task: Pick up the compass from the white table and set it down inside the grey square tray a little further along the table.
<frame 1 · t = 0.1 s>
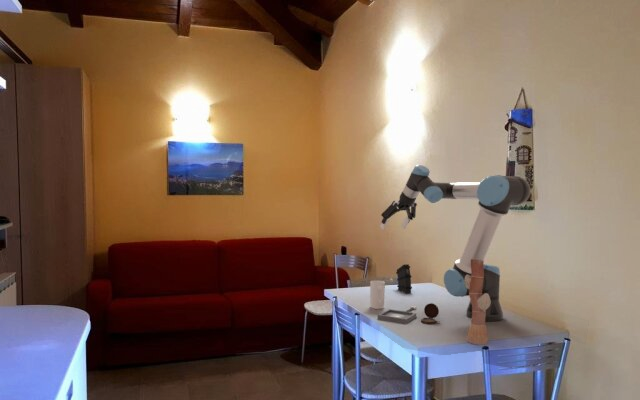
hand: (392, 227, 245), 36 cm above the table, tool tilted 35°, fingers open, 13 cm apart
vase: (475, 341, 176), on the table
black lumpy slab: (403, 291, 265), on the table
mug: (378, 308, 224), on the table
grey square tray: (397, 318, 206), on the table
compass: (431, 322, 201), on the table
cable: (408, 312, 217), on the table
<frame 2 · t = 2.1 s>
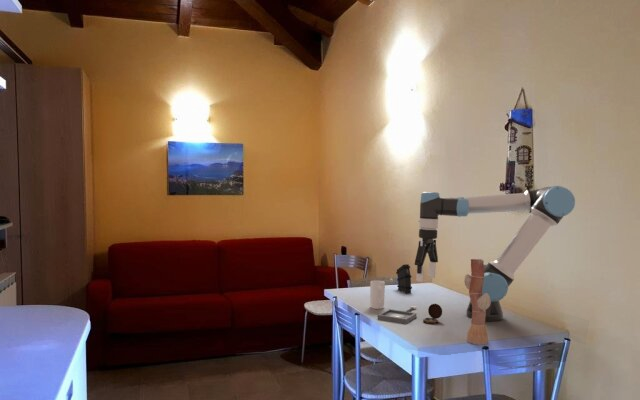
hand: (425, 279, 203), 17 cm above the table, tool pointing down, fingers open, 13 cm apart
compass: (433, 323, 200), on the table
everything else where it was.
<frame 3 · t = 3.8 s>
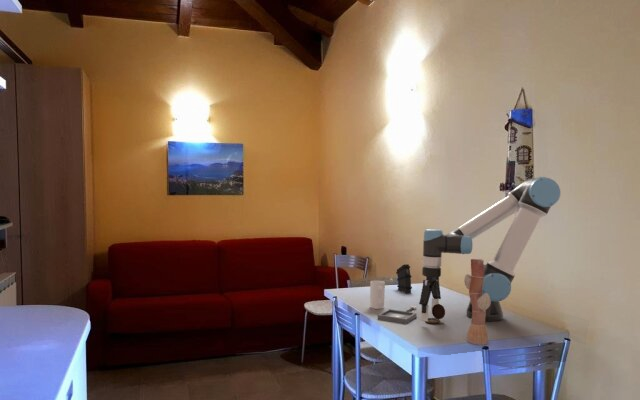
hand: (429, 317, 201), 2 cm above the table, tool pointing down, fingers open, 13 cm apart
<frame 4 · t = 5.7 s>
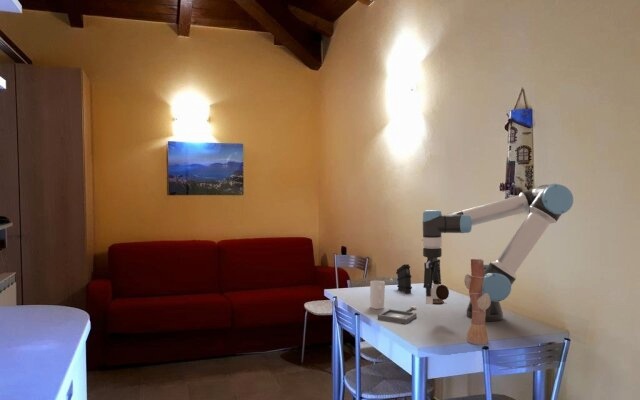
hand: (432, 301, 201), 8 cm above the table, tool pointing down, fingers closed on compass, 8 cm apart
compass: (439, 304, 198), point 8 cm above the table, touching gripper
everything else where it was.
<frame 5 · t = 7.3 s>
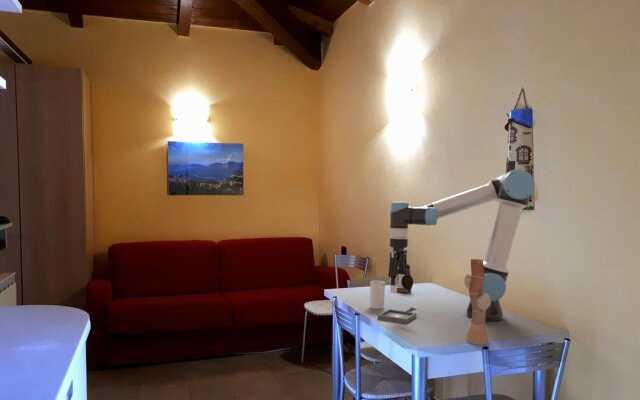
hand: (397, 291, 206), 12 cm above the table, tool pointing down, fingers closed on compass, 8 cm apart
compass: (403, 293, 204), point 11 cm above the table, touching gripper
everything else where it was.
when the fingers open (2 cm above the table, at t = 9.4 s): compass stays where it is, resting on grey square tray.
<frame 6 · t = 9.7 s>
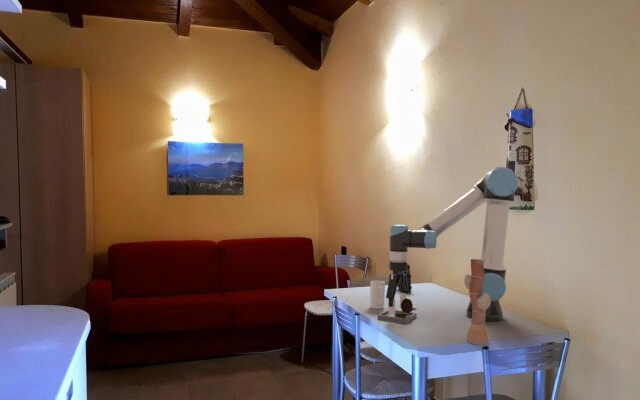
hand: (397, 311, 206), 3 cm above the table, tool pointing down, fingers open, 12 cm apart
compass: (403, 316, 204), point 1 cm above the table, touching grey square tray
everything else where it was.
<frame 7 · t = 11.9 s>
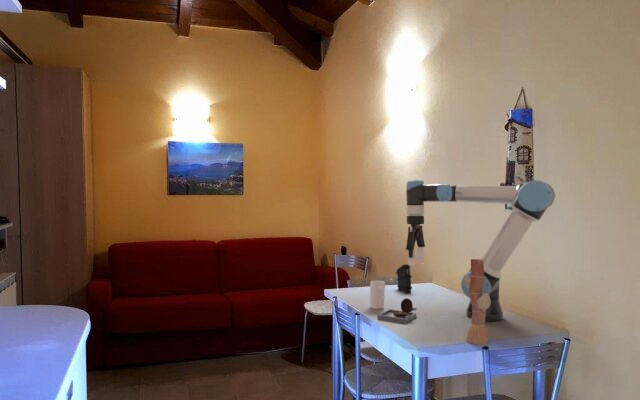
hand: (416, 263, 213), 23 cm above the table, tool pointing down, fingers open, 13 cm apart
nothing on the table moved.
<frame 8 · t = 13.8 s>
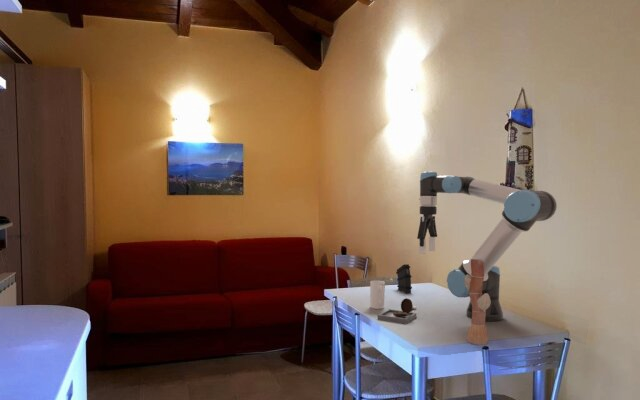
hand: (427, 252, 220), 27 cm above the table, tool pointing down, fingers open, 13 cm apart
nothing on the table moved.
at the end: compass inside the target area on the grey square tray (3.2 cm from its centre), point 1.3 cm above the grey square tray's base; the gripper is holding nothing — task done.
